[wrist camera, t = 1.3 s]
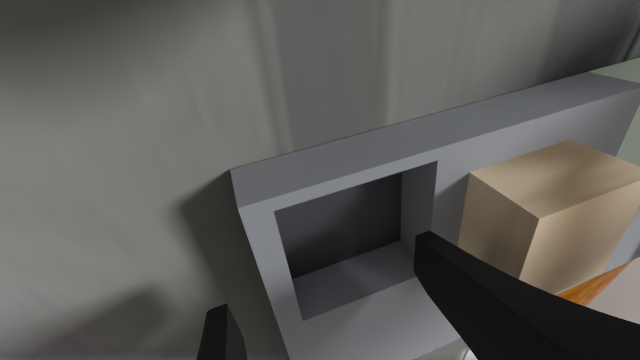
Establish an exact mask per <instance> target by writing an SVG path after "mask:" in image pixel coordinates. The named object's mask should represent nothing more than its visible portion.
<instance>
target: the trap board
mask: <svg viewBox="0 0 640 360" xmlns="http://www.w3.org/2000/svg"><path fill="white" fill-rule="evenodd" d="M570 139H572V140H574V141H577V142H579V143H582V144H584V145H587V146H589V147H592V148H594V149H597V150H599V151H602V152H604V153H607V154H609V155H612V156H614V157H617V158H619V159H622V160H624V161H627V162H629V163H632V164H634V165H637V166H639V167H640V57H639V58H636V59H632V60H628V61H625V62H621V63H617V64H614V65H610V66H606V67H603V68H599V69H595V70H592V71H588V72H584V73H581V74H577V75H574V76H570V77H566V78H563V79H559V80H555V81H552V82H548V83H544V84H541V85H537V86H533V87H530V88H526V89H522V90H519V91H515V92H511V93H508V94H504V95H500V96H497V97H493V98H489V99H486V100H482V101H478V102H475V103H471V104H467V105H464V106H460V107H456V108H453V109H449V110H446V111H442V112H438V113H435V114H431V115H427V116H424V117H420V118H416V119H413V120H409V121H405V122H402V123H398V124H394V125H391V126H387V127H383V128H380V129H376V130H372V131H369V132H365V133H361V134H358V135H354V136H350V137H347V138H343V139H339V140H336V141H332V142H328V143H325V144H321V145H318V146H314V147H310V148H307V149H303V150H299V151H296V152H292V153H288V154H285V155H281V156H277V157H274V158H270V159H266V160H263V161H259V162H255V163H252V164H248V165H244V166H241V167H237V168H233V169H230V173H231V178H232V183H233V188H234V193H235V198H236V203H237V208H238V211H239V214H240V217H241V219H242V222H243V225H244V228H245V231H246V234H247V237H248V240H249V243H250V245H251V248H252V251H253V254H254V257H255V260H256V263H257V266H258V269H259V271H260V274H261V277H262V280H263V283H264V286H265V289H266V292H267V294H268V297H269V300H270V303H271V306H272V309H273V312H274V315H275V318H276V320H277V323H278V326H279V329H280V332H281V335H282V338H283V341H284V344H285V346H286V349H287V352H288V355H289V358H290V360H413V359H415V358H417V357H420V356H422V355H424V354H426V353H428V352H431V351H433V350H435V349H437V348H440V347H442V346H444V345H446V344H448V343H451V342H453V341H455V340H457V339H459V338H461V337H460V335H459V334H458V333H457V331H456V330H455V329H454V328H453V326H452V325H451V324H450V323H449V321H448V320H447V319H446V318H445V316H444V315H443V314H442V313H441V311H440V310H439V309H438V307H437V306H436V305H435V304H434V302H433V301H432V300H431V298H430V297H429V296H428V294H427V293H426V291H425V290H424V288H423V286H422V285H421V283H420V281H419V280H418V278H417V276H416V275H415V273H414V271H413V270H414V254H415V237H416V235H418V234H421V233H424V232H427V231H429V230H430V231H431V232H433V233H435V234H437V235H438V236H440V237H442V238H443V239H445V240H447V241H449V242H450V243H452V244H454V245H455V246H458V240H459V234H460V228H461V221H462V215H463V209H464V203H465V197H466V191H467V185H468V179H469V173H470V172H472V171H475V170H478V169H481V168H484V167H488V166H491V165H494V164H497V163H500V162H503V161H506V160H509V159H512V158H515V157H518V156H521V155H524V154H527V153H530V152H533V151H536V150H540V149H543V148H546V147H549V146H552V145H555V144H558V143H561V142H564V141H567V140H570ZM638 257H640V206H639V208H638V209H637V211H636V213H635V215H634V216H633V218H632V220H631V222H630V224H629V225H628V227H627V229H626V231H625V233H624V234H623V236H622V238H621V240H620V241H619V243H618V245H617V247H616V249H615V250H614V252H613V254H612V256H611V258H610V259H609V261H608V263H607V265H606V266H605V268H604V270H603V272H602V273H599V274H597V275H595V276H593V277H590V278H588V279H586V280H584V281H582V282H579V283H577V284H575V285H573V286H571V287H568V288H566V289H564V290H562V291H559V292H557V293H555V294H553V295H556V294H559V293H561V292H563V291H565V290H567V289H570V288H572V287H574V286H576V285H579V284H581V283H583V282H585V281H587V280H590V279H592V278H594V277H596V276H598V275H601V274H603V273H605V272H607V271H609V270H612V269H614V268H616V267H618V266H620V265H623V264H625V263H627V262H629V261H631V260H634V259H636V258H638Z"/></svg>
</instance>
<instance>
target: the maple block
mask: <svg viewBox="0 0 640 360" xmlns="http://www.w3.org/2000/svg"><path fill="white" fill-rule="evenodd" d="M639 206H640V167H639V166H637V165H634V164H632V163H629V162H627V161H624V160H622V159H619V158H617V157H614V156H612V155H609V154H607V153H604V152H602V151H599V150H597V149H594V148H592V147H589V146H587V145H584V144H582V143H579V142H577V141H574V140H572V139H570V140H567V141H564V142H561V143H558V144H555V145H552V146H549V147H546V148H543V149H540V150H536V151H533V152H530V153H527V154H524V155H521V156H518V157H515V158H512V159H509V160H506V161H503V162H500V163H497V164H494V165H491V166H488V167H484V168H481V169H478V170H475V171H472V172H470V173H469V179H468V185H467V191H466V197H465V203H464V209H463V215H462V221H461V228H460V234H459V240H458V246H457V247H459V248H461V249H462V250H464V251H466V252H468V253H469V254H471V255H473V256H475V257H477V258H478V259H480V260H482V261H484V262H486V263H488V264H489V265H491V266H493V267H495V268H497V269H499V270H501V271H503V272H505V273H507V274H509V275H511V276H513V277H515V278H517V279H519V280H521V281H523V282H526V283H528V284H530V285H532V286H534V287H537V288H539V289H541V290H544V291H546V292H549V293H551V294H555V293H557V292H559V291H562V290H564V289H566V288H568V287H571V286H573V285H575V284H577V283H579V282H582V281H584V280H586V279H588V278H590V277H593V276H595V275H597V274H599V273H602V272H603V270H604V268H605V266H606V265H607V263H608V261H609V259H610V258H611V256H612V254H613V252H614V250H615V249H616V247H617V245H618V243H619V241H620V240H621V238H622V236H623V234H624V233H625V231H626V229H627V227H628V225H629V224H630V222H631V220H632V218H633V216H634V215H635V213H636V211H637V209H638V208H639Z"/></svg>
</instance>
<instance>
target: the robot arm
mask: <svg viewBox="0 0 640 360" xmlns="http://www.w3.org/2000/svg"><path fill="white" fill-rule="evenodd" d="M413 271H414V273H415V275H416V276H417V278H418V280H419V281H420V283H421V285H422V286H423V288H424V290H425V291H426V293H427V294H428V296H429V297H430V298H431V300H432V301H433V302H434V304H435V305H436V306H437V307H438V309H439V310H440V311H441V313H442V314H443V315H444V316H445V318H446V319H447V320H448V321H449V323H450V324H451V325H452V326H453V328H454V329H455V330H456V331H457V333H458V334H459V335H460V337H461V338H462V339H463V340H464V342H465V343H466V344H467V345H468V347H469V348H470V349H471V351H472V352H473V354H474V355H475V356H476V358H477V359H478V360H640V324H636V323H633V322H630V321H627V320H624V319H620V318H617V317H614V316H611V315H608V314H605V313H602V312H598V311H595V310H593V309H590V308H587V307H585V306H582V305H579V304H576V303H574V302H571V301H568V300H566V299H563V298H561V297H558V296H556V295H553V294H551V293H549V292H546V291H544V290H541V289H539V288H537V287H534V286H532V285H530V284H528V283H526V282H523V281H521V280H519V279H517V278H515V277H513V276H511V275H509V274H507V273H505V272H503V271H501V270H499V269H497V268H495V267H493V266H491V265H489V264H488V263H486V262H484V261H482V260H480V259H478V258H477V257H475V256H473V255H471V254H469V253H468V252H466V251H464V250H462V249H461V248H459V247H457V246H455V245H454V244H452V243H450V242H449V241H447V240H445V239H443V238H442V237H440V236H438V235H437V234H435V233H433V232H431V231H430V230H429V231H427V232H424V233H421V234H418V235H416V237H415V254H414V270H413ZM197 360H247V355H246V350H245V345H244V339H243V336H242V334H241V332H240V330H239V327H238V325H237V323H236V321H235V319H234V317H233V315H232V313H231V311H230V308H229V306H228V304H224V305H221V306H218V307H216V308H213V309H210V310H208V312H207V313H206V319H205V325H204V330H203V335H202V339H201V343H200V348H199V352H198V356H197Z"/></svg>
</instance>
